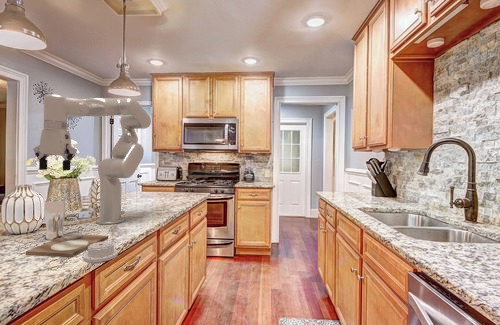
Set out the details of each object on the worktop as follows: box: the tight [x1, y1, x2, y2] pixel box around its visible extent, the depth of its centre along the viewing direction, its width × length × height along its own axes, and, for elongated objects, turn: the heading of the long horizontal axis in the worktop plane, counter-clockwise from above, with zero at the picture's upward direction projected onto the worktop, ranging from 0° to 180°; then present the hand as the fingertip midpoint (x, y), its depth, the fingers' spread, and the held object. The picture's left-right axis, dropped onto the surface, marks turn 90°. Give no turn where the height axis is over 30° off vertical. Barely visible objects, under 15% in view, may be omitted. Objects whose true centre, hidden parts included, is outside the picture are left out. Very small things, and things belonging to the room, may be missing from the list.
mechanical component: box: [82, 240, 119, 264], centre depth 89 cm, size 10×4×10 cm
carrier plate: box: [25, 232, 109, 258], centre depth 98 cm, size 20×16×2 cm
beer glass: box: [43, 198, 67, 241], centre depth 107 cm, size 7×7×15 cm
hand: (54, 170), depth 106 cm, fingers open, 9 cm apart
